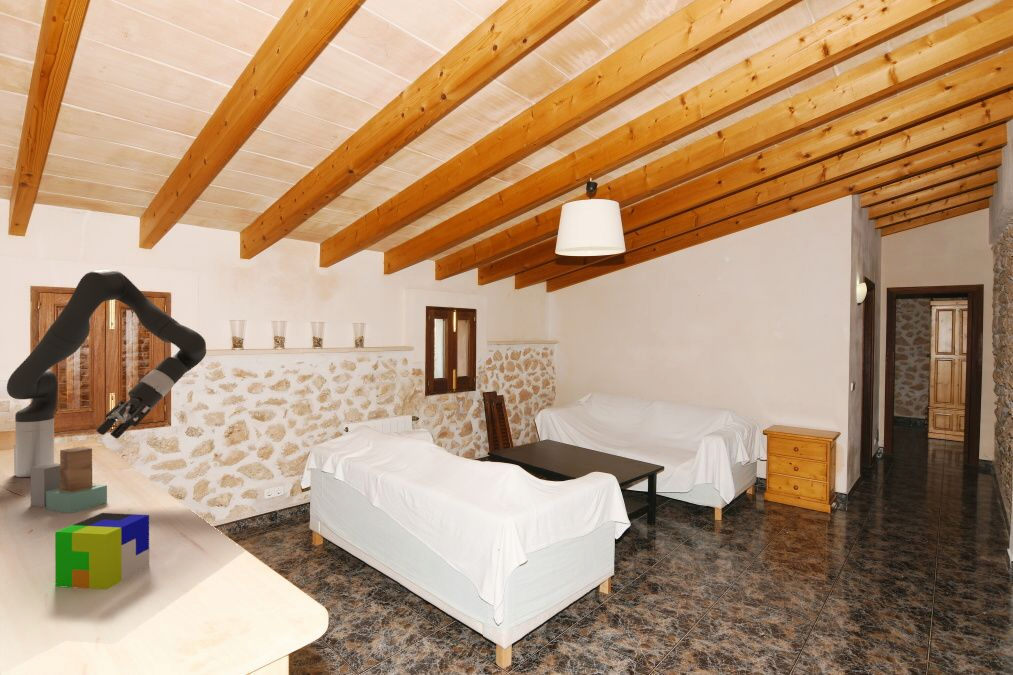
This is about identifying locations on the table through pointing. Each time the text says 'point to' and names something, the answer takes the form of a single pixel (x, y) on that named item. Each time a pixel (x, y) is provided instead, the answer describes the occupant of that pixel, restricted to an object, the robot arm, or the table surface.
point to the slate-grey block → (44, 482)
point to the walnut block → (76, 468)
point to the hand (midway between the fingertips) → (106, 434)
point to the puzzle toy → (101, 550)
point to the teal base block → (76, 498)
